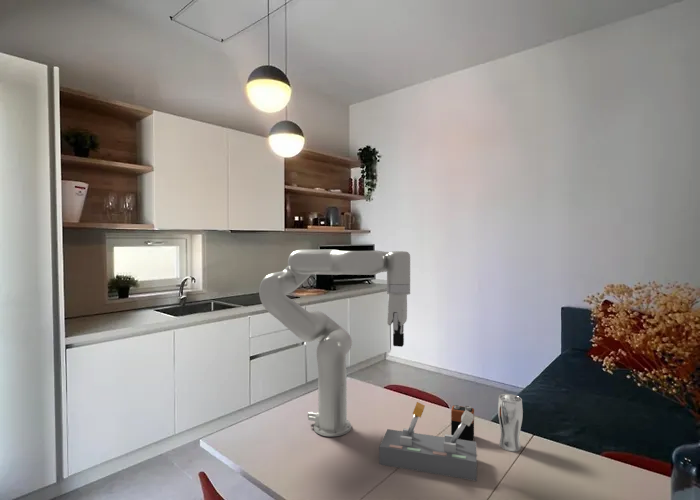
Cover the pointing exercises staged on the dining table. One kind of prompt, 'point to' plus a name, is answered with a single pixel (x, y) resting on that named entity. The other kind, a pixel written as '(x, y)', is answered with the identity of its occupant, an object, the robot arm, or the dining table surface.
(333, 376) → the robot arm
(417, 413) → the orange lever
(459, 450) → the switch box
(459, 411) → the battery
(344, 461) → the dining table surface
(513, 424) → the beer glass
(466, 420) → the on lever
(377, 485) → the dining table surface
